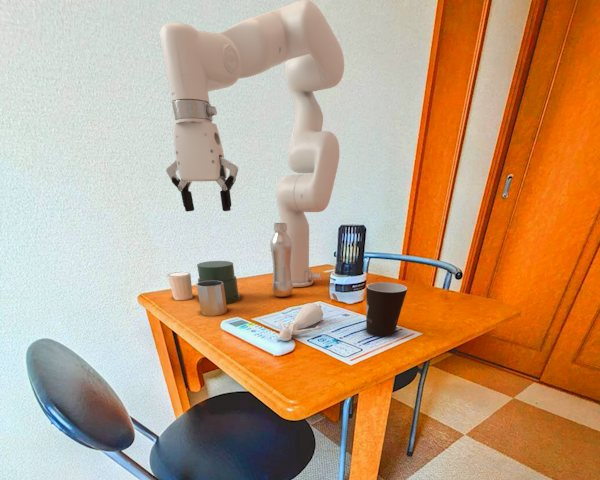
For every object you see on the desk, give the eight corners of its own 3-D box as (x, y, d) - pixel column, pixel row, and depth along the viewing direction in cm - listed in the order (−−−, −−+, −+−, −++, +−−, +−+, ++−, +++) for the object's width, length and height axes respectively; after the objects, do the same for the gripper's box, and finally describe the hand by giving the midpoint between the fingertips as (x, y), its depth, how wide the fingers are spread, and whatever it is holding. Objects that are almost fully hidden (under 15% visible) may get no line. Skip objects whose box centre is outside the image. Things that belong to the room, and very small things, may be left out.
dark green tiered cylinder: (246, 294, 99) (242, 260, 94) (230, 305, 89) (225, 268, 84) (211, 292, 102) (206, 259, 96) (192, 303, 92) (185, 267, 86)
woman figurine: (338, 303, 75) (305, 332, 63) (337, 320, 78) (306, 351, 65) (295, 297, 80) (257, 323, 67) (296, 314, 83) (259, 342, 70)
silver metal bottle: (268, 297, 96) (264, 223, 85) (278, 292, 101) (275, 222, 90) (287, 299, 94) (285, 224, 83) (296, 294, 99) (295, 222, 88)
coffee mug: (392, 341, 67) (400, 294, 62) (355, 333, 71) (360, 288, 66) (407, 325, 75) (416, 282, 70) (374, 319, 79) (379, 278, 74)
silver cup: (230, 308, 87) (227, 281, 83) (220, 316, 82) (216, 287, 77) (208, 307, 88) (204, 279, 84) (196, 314, 83) (191, 285, 79)
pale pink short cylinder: (180, 302, 93) (175, 277, 89) (167, 298, 96) (161, 274, 92) (199, 296, 97) (195, 273, 94) (186, 293, 101) (181, 270, 97)
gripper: (238, 116, 66) (247, 209, 76) (166, 121, 70) (184, 210, 79) (223, 109, 60) (235, 211, 70) (145, 115, 64) (167, 212, 73)
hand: (208, 210), depth 75 cm, fingers open, 9 cm apart
